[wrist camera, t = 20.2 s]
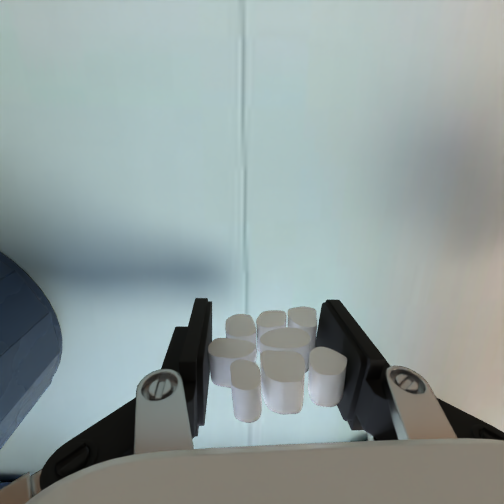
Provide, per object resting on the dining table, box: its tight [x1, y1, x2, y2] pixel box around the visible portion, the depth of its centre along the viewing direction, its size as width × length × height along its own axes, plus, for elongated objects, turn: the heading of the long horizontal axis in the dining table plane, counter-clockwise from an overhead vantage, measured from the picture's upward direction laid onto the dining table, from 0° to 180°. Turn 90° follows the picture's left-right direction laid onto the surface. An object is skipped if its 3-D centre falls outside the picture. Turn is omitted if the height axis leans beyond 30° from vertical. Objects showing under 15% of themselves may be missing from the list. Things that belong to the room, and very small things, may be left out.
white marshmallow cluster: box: [208, 307, 347, 423], centre depth 10 cm, size 5×1×4 cm, turn 92°
